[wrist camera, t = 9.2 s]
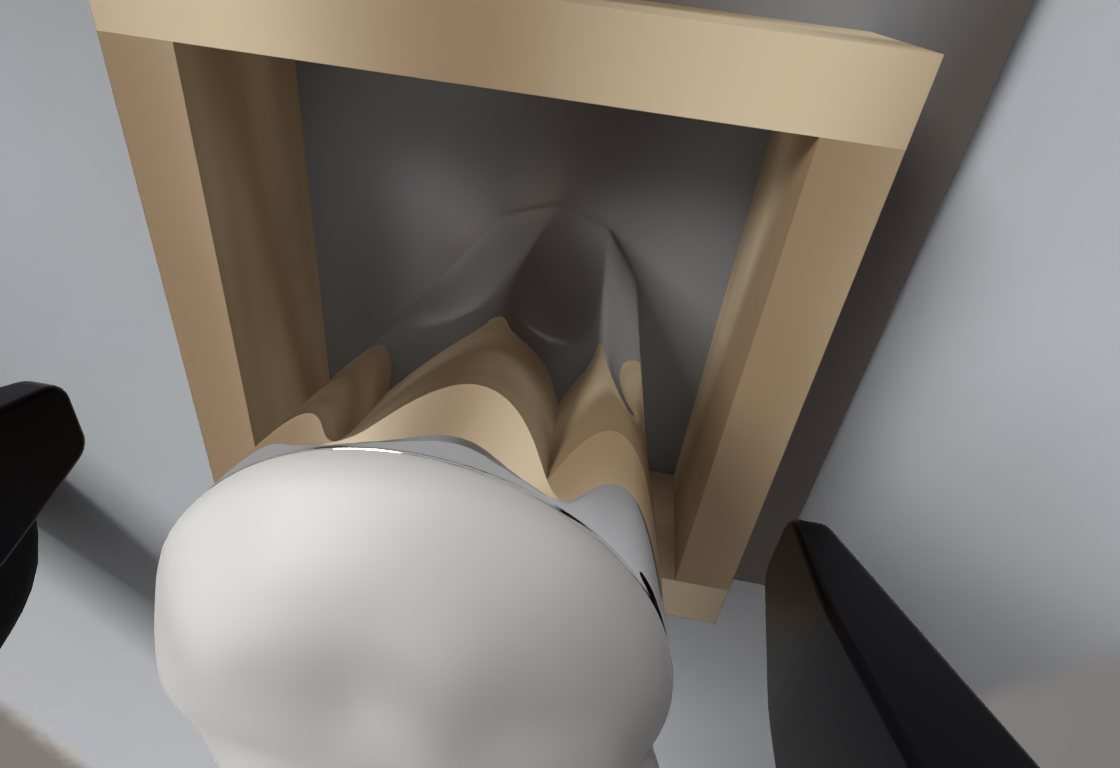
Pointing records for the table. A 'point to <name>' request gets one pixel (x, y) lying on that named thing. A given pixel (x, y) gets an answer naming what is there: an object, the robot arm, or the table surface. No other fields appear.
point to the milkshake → (441, 538)
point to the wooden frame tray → (560, 203)
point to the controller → (17, 580)
